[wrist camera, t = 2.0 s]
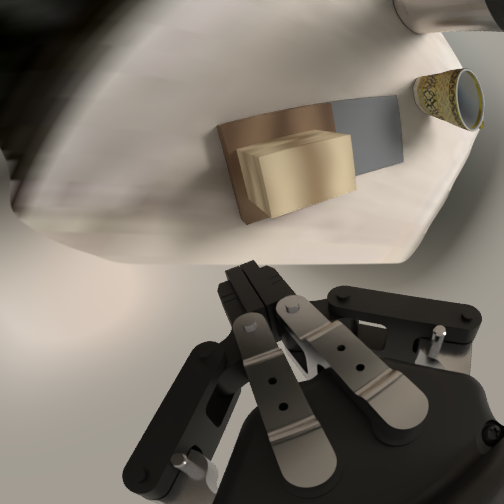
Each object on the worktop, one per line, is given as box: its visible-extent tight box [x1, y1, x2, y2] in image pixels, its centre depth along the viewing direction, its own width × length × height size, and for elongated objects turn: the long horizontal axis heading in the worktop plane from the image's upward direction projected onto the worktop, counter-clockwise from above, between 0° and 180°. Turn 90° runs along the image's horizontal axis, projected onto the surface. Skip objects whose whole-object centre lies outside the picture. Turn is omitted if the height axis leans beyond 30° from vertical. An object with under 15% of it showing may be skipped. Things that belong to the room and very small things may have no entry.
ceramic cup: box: [413, 68, 484, 131], centre depth 33 cm, size 13×10×10 cm
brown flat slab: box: [217, 103, 336, 225], centre depth 34 cm, size 14×12×2 cm
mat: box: [326, 95, 403, 176], centre depth 36 cm, size 14×11×1 cm
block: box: [236, 130, 357, 219], centre depth 30 cm, size 10×6×7 cm, turn 104°
